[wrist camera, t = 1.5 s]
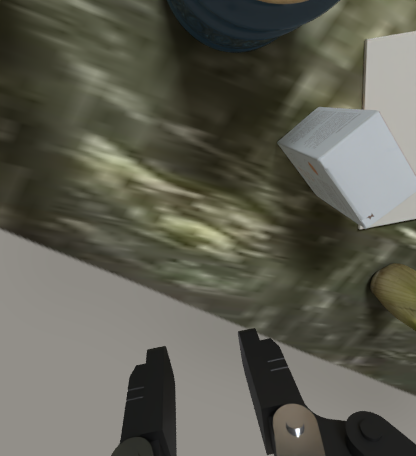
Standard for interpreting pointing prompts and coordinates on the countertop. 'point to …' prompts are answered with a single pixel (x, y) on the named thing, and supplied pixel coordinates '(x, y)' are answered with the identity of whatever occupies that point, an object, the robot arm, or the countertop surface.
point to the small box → (351, 162)
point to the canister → (245, 20)
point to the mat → (394, 101)
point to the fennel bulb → (397, 291)
